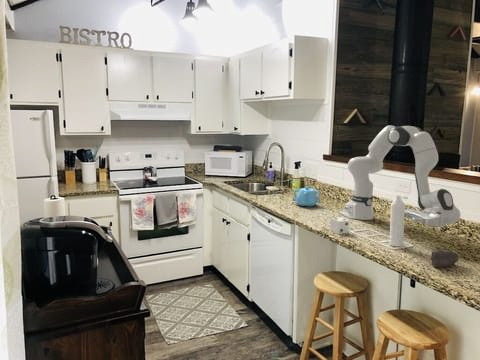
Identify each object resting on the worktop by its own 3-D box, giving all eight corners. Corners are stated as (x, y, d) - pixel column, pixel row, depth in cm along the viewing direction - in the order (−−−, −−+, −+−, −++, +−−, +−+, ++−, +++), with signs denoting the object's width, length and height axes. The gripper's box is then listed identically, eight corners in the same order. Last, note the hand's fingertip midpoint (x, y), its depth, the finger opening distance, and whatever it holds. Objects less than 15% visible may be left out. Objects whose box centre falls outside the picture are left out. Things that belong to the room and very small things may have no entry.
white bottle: (386, 244, 192) (388, 194, 189) (396, 242, 194) (398, 194, 192) (400, 248, 184) (402, 197, 181) (409, 247, 187) (412, 196, 184)
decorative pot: (322, 207, 270) (323, 188, 267) (302, 208, 264) (303, 189, 262) (310, 202, 285) (311, 184, 282) (291, 203, 279) (292, 185, 277)
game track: (349, 231, 211) (349, 231, 211) (368, 229, 217) (368, 228, 217) (393, 249, 183) (393, 249, 183) (414, 246, 189) (414, 245, 189)
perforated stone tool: (452, 262, 169) (454, 247, 168) (462, 266, 164) (464, 251, 163) (425, 265, 165) (426, 250, 164) (434, 270, 160) (436, 254, 159)
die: (330, 230, 213) (331, 218, 212) (340, 229, 216) (341, 216, 215) (338, 234, 207) (339, 221, 206) (348, 232, 210) (349, 220, 208)
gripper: (416, 206, 203) (394, 206, 200) (446, 215, 184) (421, 216, 180) (415, 217, 204) (393, 218, 201) (444, 228, 185) (420, 229, 181)
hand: (406, 217), depth 191 cm, fingers open, 8 cm apart
